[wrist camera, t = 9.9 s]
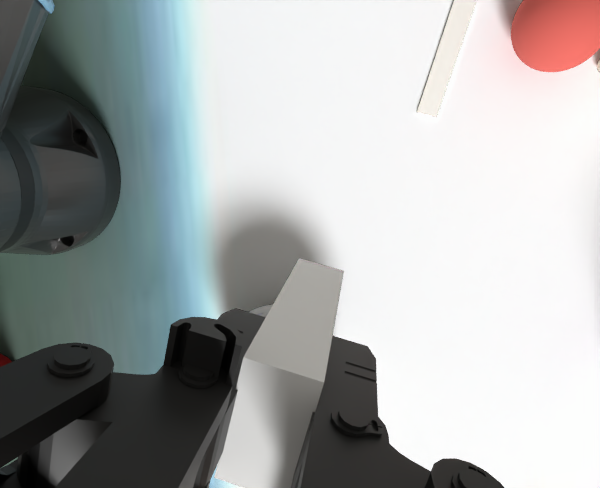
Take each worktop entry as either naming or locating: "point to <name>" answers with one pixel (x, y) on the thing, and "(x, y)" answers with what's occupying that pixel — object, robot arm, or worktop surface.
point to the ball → (556, 33)
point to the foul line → (446, 56)
